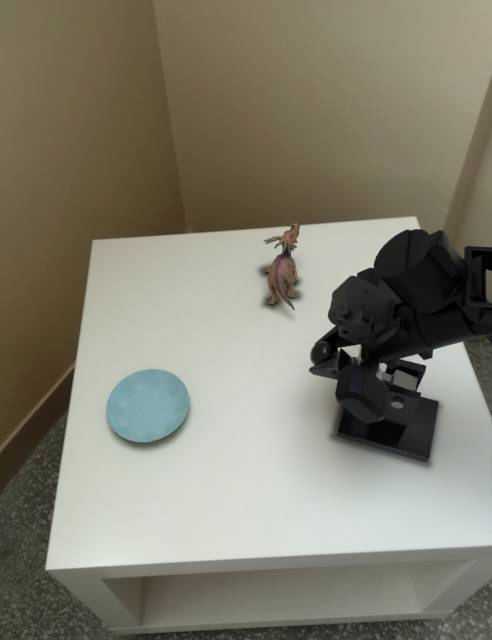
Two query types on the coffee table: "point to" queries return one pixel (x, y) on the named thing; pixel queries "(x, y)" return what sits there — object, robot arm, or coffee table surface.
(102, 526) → the coffee table surface
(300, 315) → the coffee table surface
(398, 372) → the lever
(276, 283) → the dinosaur figurine
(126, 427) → the saucer
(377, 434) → the bracket
